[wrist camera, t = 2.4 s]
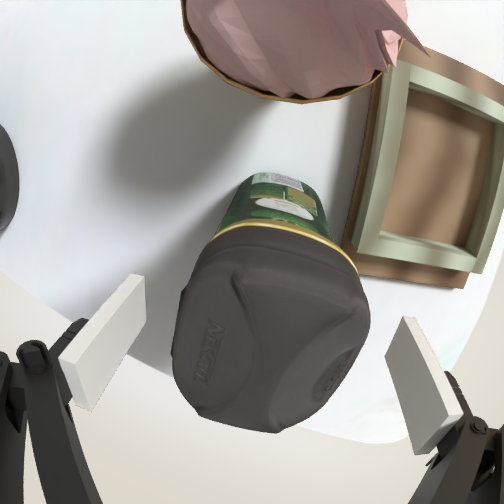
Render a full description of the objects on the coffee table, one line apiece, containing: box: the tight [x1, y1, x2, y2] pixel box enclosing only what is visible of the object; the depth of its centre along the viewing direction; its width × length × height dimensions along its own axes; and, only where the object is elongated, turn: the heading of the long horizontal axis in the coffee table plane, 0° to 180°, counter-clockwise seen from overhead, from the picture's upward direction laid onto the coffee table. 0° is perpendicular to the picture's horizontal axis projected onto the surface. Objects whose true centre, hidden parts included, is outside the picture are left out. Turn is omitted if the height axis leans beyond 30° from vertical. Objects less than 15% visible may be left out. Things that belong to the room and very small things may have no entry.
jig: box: [341, 39, 504, 289], centre depth 23 cm, size 15×22×4 cm
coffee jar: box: [171, 173, 371, 433], centre depth 19 cm, size 10×8×19 cm
